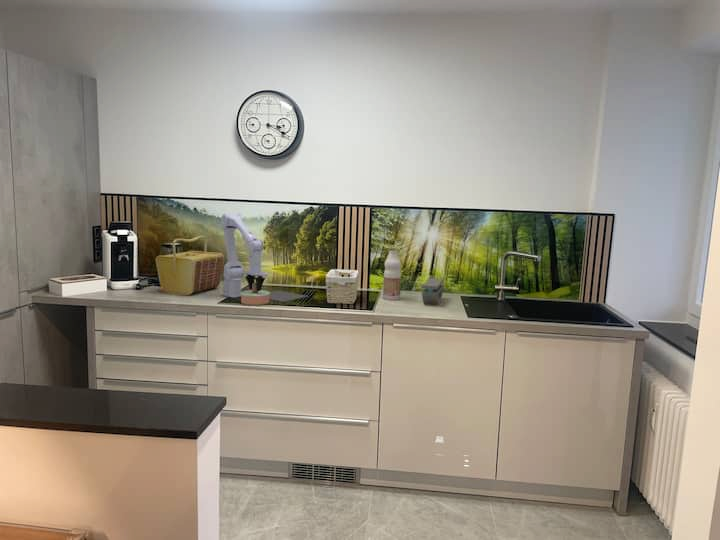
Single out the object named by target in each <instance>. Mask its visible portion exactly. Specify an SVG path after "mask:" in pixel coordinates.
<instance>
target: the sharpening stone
mask: <svg viewBox="0 0 720 540" xmlns="http://www.w3.org/2000/svg"><path fill="white" fill-rule="evenodd" d="M444 282H445V279H444V278H437V277H436V278H434V277H430V278H428V279H427V280H426V281H425V282H424V283H423V284H422V285H421V287H422V288H421V289H423V290H422V292H421V297H422V303H423V304H426V305H427V304H429V305H436V306H437V305H439V304H440V303H441V301H442V297H443V291H444V284H443V283H444Z"/></svg>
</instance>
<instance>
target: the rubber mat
mask: <svg viewBox="0 0 720 540" xmlns="http://www.w3.org/2000/svg"><path fill="white" fill-rule="evenodd" d="M269 292H270V295H269V301H273V302H278V303H282V304H283V303H288V302H292V301H297V300H301V299H306V298H308V297H309V295H304V294H300V293H293V292H288V291H283V290H282V291H281V290H274V291H269Z"/></svg>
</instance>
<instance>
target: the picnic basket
mask: <svg viewBox="0 0 720 540" xmlns="http://www.w3.org/2000/svg"><path fill="white" fill-rule="evenodd" d="M201 238H203V239H204V245H203V249H204V250H203V251H201V250H200V251H199V250H188V251H183V252H176V242H178V241H182V242H184V243H192V242H195V241H196V242H197V240H199V239H201ZM207 243H208V239H207V237H206V236H205V235H198V236H195V237H193V238H191V239H190V238H189V239H187V238H176V239H174V240H173V241H172V254H171V253H170V254H165V255H158V256H156V257H155V265H156V270H157V274H158V278H159V283H160V288H161V290H162V291H163V292H164V293H167V294H173V295H180V296H181V295H182V296H190V295H193V294H195V293H199V292H203V291H207V290H210V289H217V288H218V287H219V286H220V284H221V278H222V272H223V269H224V262H225V256H224V254H223V253H221V252H212V251H207V250H208V249H207V248H208V246H207V245H208V244H207Z"/></svg>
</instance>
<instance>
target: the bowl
mask: <svg viewBox="0 0 720 540" xmlns="http://www.w3.org/2000/svg"><path fill="white" fill-rule="evenodd" d="M240 297H241V298H240V299H241V300H240V302H241V304H243V305H245V306H263V305H268V304H270V300H269V295H267V296H260V297H249V296H243V295H241V296H240Z"/></svg>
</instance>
